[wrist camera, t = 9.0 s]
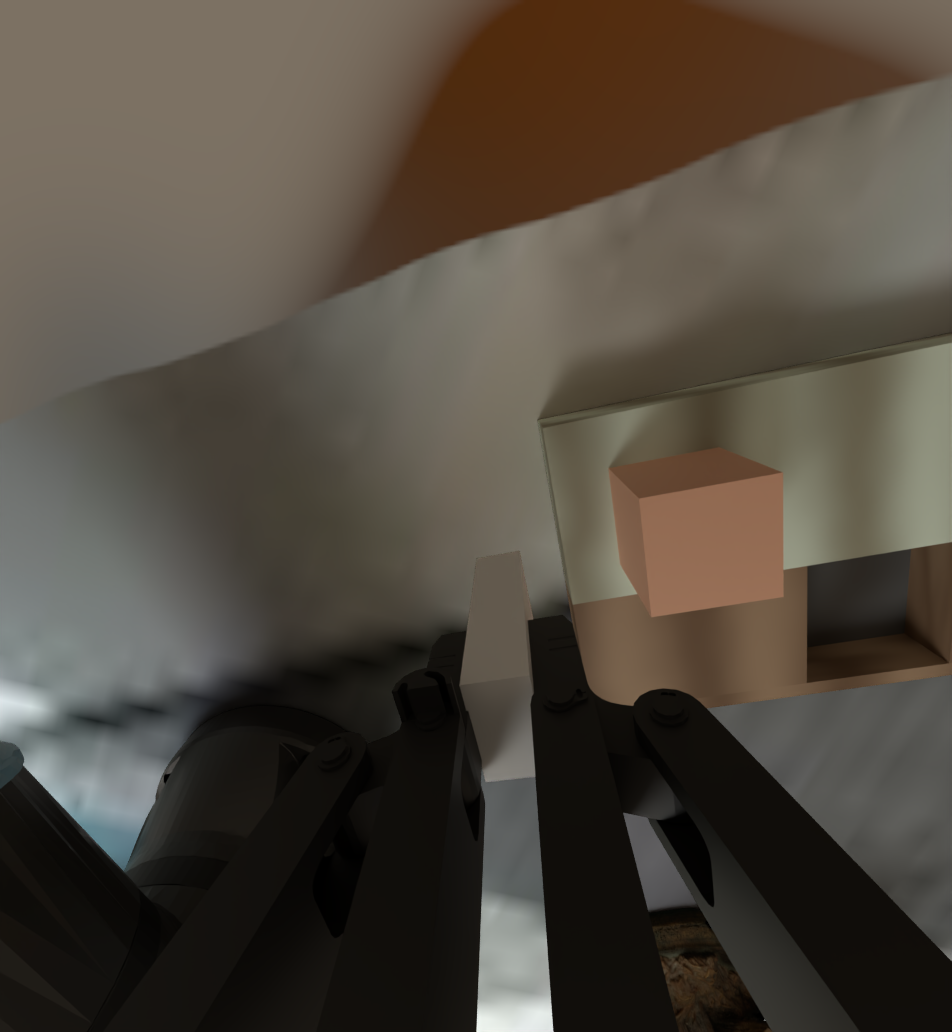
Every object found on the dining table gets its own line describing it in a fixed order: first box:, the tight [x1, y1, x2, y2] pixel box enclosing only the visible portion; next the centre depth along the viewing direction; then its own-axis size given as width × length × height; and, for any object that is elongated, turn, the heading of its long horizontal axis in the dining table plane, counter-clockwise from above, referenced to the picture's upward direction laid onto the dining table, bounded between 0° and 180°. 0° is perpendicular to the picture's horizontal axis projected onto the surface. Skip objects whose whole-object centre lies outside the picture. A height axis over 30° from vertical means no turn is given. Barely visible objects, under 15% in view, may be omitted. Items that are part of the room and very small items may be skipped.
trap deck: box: [538, 333, 952, 708], centre depth 22 cm, size 28×17×7 cm, turn 102°
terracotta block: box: [608, 447, 784, 617], centre depth 20 cm, size 5×5×5 cm
